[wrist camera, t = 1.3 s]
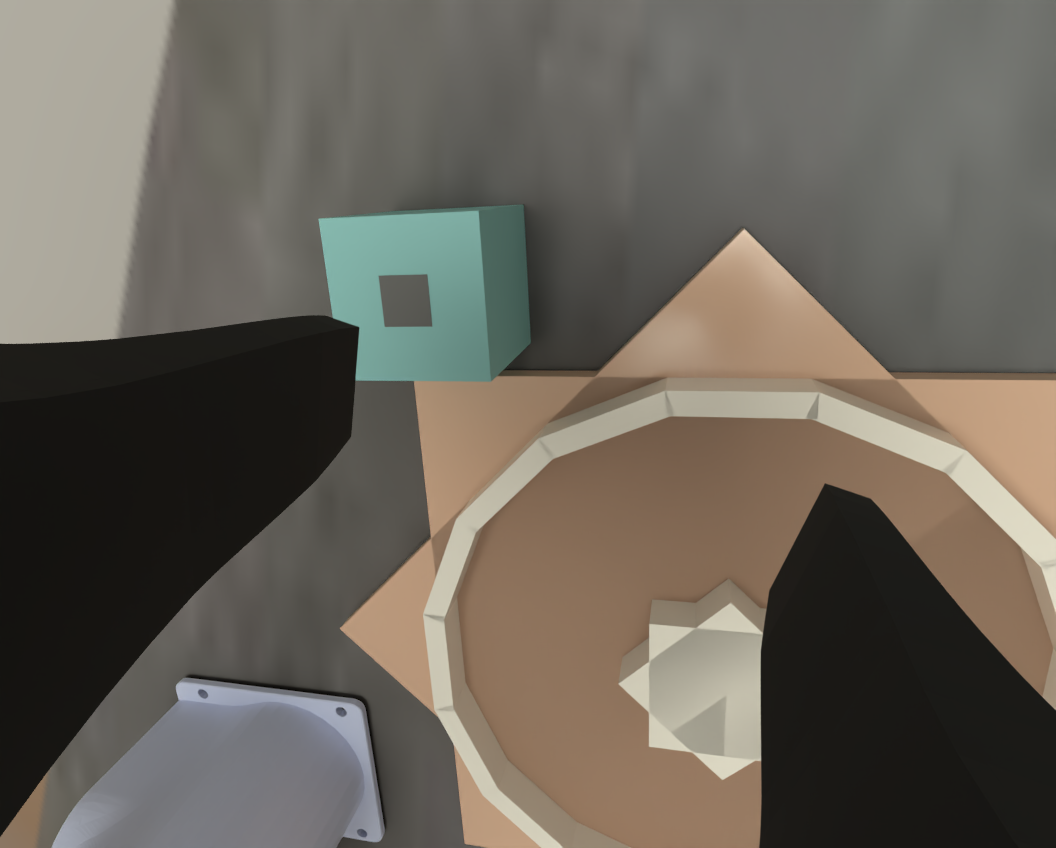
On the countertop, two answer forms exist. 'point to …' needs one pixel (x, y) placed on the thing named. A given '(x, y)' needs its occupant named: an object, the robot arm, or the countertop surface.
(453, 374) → the bead
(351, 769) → the robot arm
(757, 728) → the ring tray
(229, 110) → the countertop surface
